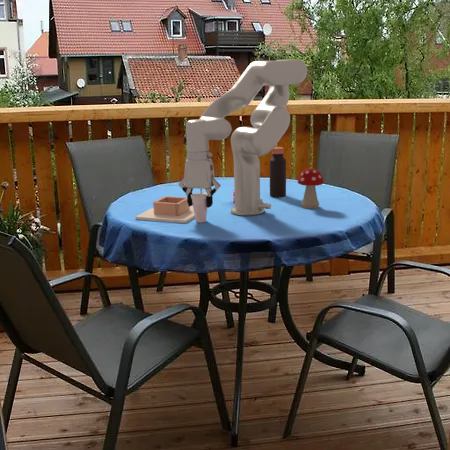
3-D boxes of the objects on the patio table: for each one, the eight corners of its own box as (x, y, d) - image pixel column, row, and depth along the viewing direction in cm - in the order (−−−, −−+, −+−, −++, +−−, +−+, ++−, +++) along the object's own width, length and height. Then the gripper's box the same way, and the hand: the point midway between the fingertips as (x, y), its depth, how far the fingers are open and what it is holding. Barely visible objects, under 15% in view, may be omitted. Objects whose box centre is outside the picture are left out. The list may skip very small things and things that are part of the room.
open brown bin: (207, 209, 230) (206, 195, 228) (185, 223, 212) (185, 208, 210) (160, 206, 236) (159, 192, 235) (135, 219, 218) (134, 204, 217)
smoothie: (207, 223, 210) (205, 184, 206) (189, 223, 212) (187, 184, 208) (211, 218, 216) (210, 180, 212) (194, 218, 218) (192, 180, 214)
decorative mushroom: (324, 204, 232) (325, 166, 228) (322, 210, 224) (322, 170, 220) (299, 203, 235) (299, 166, 231) (295, 209, 227) (295, 170, 223)
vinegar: (288, 196, 247) (289, 148, 242) (274, 198, 245) (274, 149, 239) (281, 193, 253) (281, 146, 248) (266, 195, 251) (266, 147, 245)
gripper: (225, 154, 208) (226, 205, 213) (179, 153, 214) (182, 202, 219) (217, 158, 201) (219, 210, 206) (170, 156, 207) (173, 207, 212)
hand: (200, 205), depth 212 cm, fingers closed on smoothie, 6 cm apart
